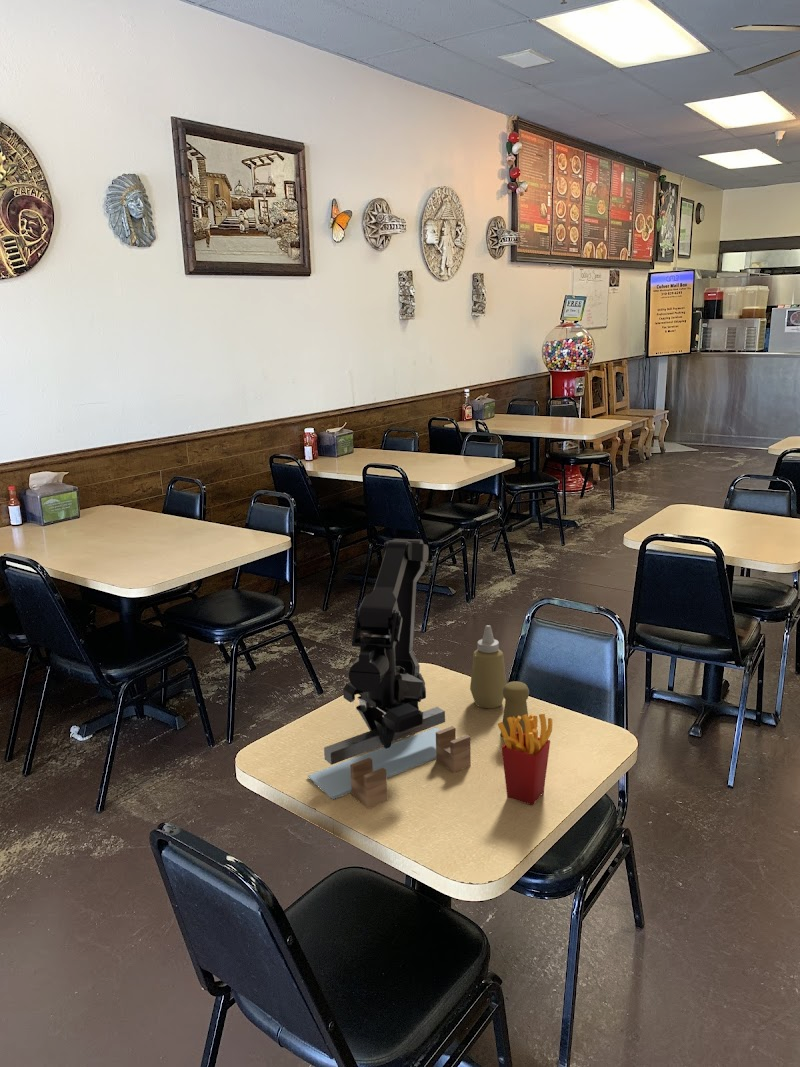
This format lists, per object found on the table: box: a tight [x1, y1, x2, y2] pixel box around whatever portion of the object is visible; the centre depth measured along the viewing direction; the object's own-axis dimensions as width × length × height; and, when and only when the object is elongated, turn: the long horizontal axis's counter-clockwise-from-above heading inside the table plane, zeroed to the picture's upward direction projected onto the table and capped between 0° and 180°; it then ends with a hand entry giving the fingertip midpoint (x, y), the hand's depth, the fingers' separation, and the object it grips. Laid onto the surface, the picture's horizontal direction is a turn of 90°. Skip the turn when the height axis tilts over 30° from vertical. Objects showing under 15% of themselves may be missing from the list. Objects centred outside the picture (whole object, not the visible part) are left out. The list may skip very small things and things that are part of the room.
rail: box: [323, 706, 446, 766], centre depth 151 cm, size 26×2×2 cm, turn 125°
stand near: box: [350, 758, 388, 810], centre depth 140 cm, size 5×4×6 cm
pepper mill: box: [500, 680, 530, 738], centre depth 160 cm, size 6×6×11 cm
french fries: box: [497, 713, 553, 806], centre depth 140 cm, size 9×8×15 cm
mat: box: [307, 726, 441, 801], centre depth 153 cm, size 9×30×1 cm, turn 125°
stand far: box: [435, 725, 472, 773], centre depth 151 cm, size 5×4×6 cm
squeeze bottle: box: [469, 624, 507, 709], centre depth 173 cm, size 8×8×18 cm
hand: (383, 744), depth 151 cm, fingers closed on rail, 2 cm apart
